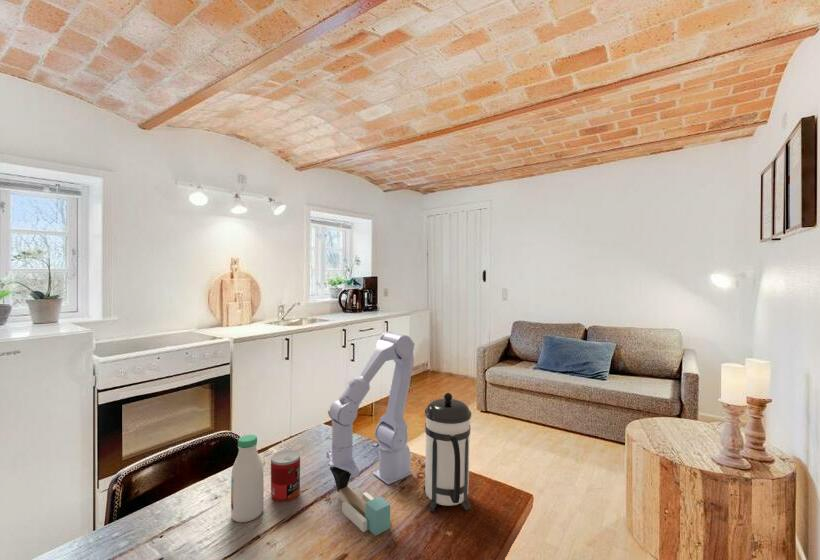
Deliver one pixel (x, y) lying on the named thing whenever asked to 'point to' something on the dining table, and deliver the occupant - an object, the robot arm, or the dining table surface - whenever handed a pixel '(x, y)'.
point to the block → (377, 515)
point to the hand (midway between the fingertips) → (341, 491)
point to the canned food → (285, 475)
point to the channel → (356, 513)
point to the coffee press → (447, 452)
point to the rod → (352, 500)
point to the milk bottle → (247, 481)
